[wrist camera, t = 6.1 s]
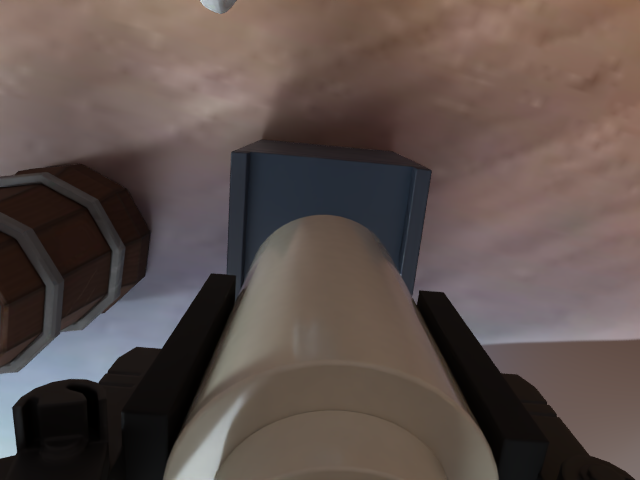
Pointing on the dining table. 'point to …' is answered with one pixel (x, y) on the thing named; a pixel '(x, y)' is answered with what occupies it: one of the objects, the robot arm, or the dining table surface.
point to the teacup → (218, 5)
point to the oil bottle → (328, 374)
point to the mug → (63, 255)
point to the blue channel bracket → (325, 197)
